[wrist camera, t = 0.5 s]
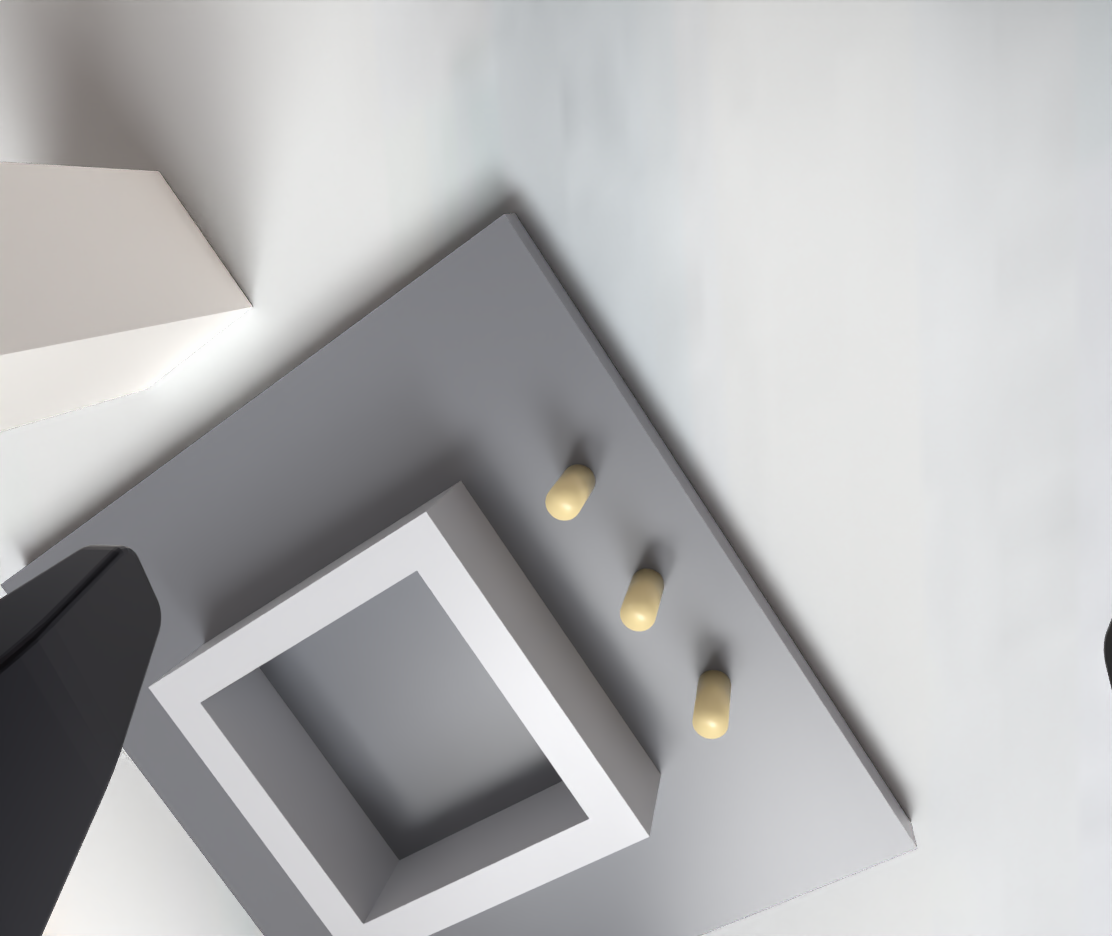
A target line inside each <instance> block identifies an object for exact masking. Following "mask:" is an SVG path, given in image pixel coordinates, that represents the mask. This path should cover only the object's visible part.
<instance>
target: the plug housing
mask: <svg viewBox="0 0 1112 936" xmlns="http://www.w3.org/2000/svg"><path fill="white" fill-rule="evenodd" d="M252 307H253V306H252V305H251V303H250V302H249V301H248V299H247V298H246V296H245V295H244V293H243V292H242V290H241V289H240V288H239V286H238V285H237V283H236V282H235V280H234V279H233V277H232V276H231V275H230V273H229V272H228V270H227V269H226V267H225V266H224V264H223V263H222V262H221V260H220V259H219V257H218V256H217V254H216V253H215V251H214V250H213V249H212V247H211V246H210V244H209V243H208V241H207V240H206V238H205V237H204V236H203V234H202V233H201V231H200V230H199V228H198V227H197V225H196V224H195V223H194V221H193V220H192V218H191V217H190V215H189V214H188V212H187V211H186V209H185V208H184V207H183V205H182V204H181V202H180V201H179V199H178V198H177V196H176V195H175V194H174V192H173V191H172V189H171V188H170V186H169V185H168V183H167V182H166V181H165V179H164V178H163V176H162V175H161V173H160V172H159V171H146V170H130V169H113V168H97V167H80V166H64V165H47V164H31V163H14V162H0V432H3V431H6V430H10V429H13V428H17V427H20V426H23V425H27V424H30V423H34V422H37V421H41V420H44V419H47V418H51V417H54V416H58V415H61V414H64V413H68V412H71V411H75V410H78V409H82V408H85V407H88V406H92V405H95V404H99V403H102V402H105V401H109V400H112V399H116V398H119V397H123V396H126V395H129V394H133V393H136V392H140V391H143V390H146V389H148V388H149V387H151V386H152V385H153V384H154V383H156V382H157V381H158V380H160V379H161V378H162V377H163V376H165V375H166V374H167V373H168V372H170V371H171V370H172V369H174V368H175V367H176V366H177V365H179V364H180V363H181V362H183V361H184V360H185V359H186V358H188V357H189V356H190V355H192V354H193V353H194V352H195V351H197V350H198V349H199V348H201V347H202V346H203V345H204V344H206V343H207V342H208V341H210V340H211V339H212V338H213V337H215V336H216V335H217V334H218V333H220V332H221V331H222V330H224V329H225V328H226V327H227V326H229V325H230V324H231V323H233V322H234V321H235V320H236V319H238V318H239V317H240V316H242V315H243V314H244V313H245V312H247V311H248V310H249V309H251V308H252Z"/></svg>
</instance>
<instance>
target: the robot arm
mask: <svg viewBox="0 0 1112 936" xmlns="http://www.w3.org/2000/svg"><path fill="white" fill-rule="evenodd" d="M160 626H161V609H160V605H159V602H158V599H157V597H156V595H155V593H154V591H153V588H152V586H151V584H150V582H149V579H148V577H147V575H146V573H145V571H144V568H143V566H142V564H141V562H140V560H139V557H138V556H137V554H136V553H135V552H134V551H133V550H132V549H131V548H130V547H127V546H124V545H89V546H85V547H83V548H81V549H79V550H77V551H76V552H74V553H73V554H71V555H70V556H68V557H66V558H65V559H63V560H62V561H60V562H58V563H57V564H55V565H54V566H52V567H50V568H49V569H47V570H46V571H44V572H42V573H41V574H39V575H38V576H36V577H34V578H33V579H31V580H30V581H28V582H26V583H25V584H23V585H22V586H20V587H19V588H17V589H15V590H14V591H12V592H11V593H9V594H7V595H6V596H4V597H3V598H1V599H0V936H42V934H43V931H44V929H45V927H46V925H47V922H48V920H49V918H50V916H51V913H52V911H53V909H54V907H55V904H56V902H57V900H58V898H59V895H60V893H61V891H62V889H63V886H64V884H65V882H66V879H67V877H68V875H69V873H70V870H71V868H72V866H73V864H74V861H75V859H76V857H77V855H78V852H79V850H80V848H81V846H82V843H83V841H84V839H85V836H86V834H87V832H88V830H89V827H90V825H91V823H92V821H93V818H94V816H95V814H96V812H97V809H98V807H99V805H100V803H101V800H102V798H103V796H104V793H105V791H106V789H107V786H108V784H109V781H110V779H111V776H112V774H113V772H114V769H115V766H116V763H117V761H118V758H119V755H120V752H121V749H122V747H123V744H124V740H125V737H126V734H127V731H128V728H129V725H130V722H131V719H132V715H133V712H134V709H135V706H136V703H137V700H138V697H139V694H140V691H141V687H142V684H143V681H144V678H145V675H146V672H147V669H148V666H149V662H150V659H151V656H152V653H153V650H154V647H155V644H156V641H157V638H158V634H159V631H160ZM1104 658H1105V664H1106V668H1107V672H1108V676H1109V680H1110V684H1111V688H1112V619H1111V622H1110V624H1109V627H1108V629H1107V632H1106V635H1105V640H1104Z"/></svg>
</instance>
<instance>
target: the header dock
mask: <svg viewBox="0 0 1112 936" xmlns="http://www.w3.org/2000/svg"><path fill="white" fill-rule="evenodd" d="M89 545H124V546H127V547H130V548H131V549H132V550H133V551H134V552H135V553H136V554H137V556H138V557H139V560H140V562H141V564H142V566H143V568H144V571H145V573H146V575H147V577H148V579H149V582H150V584H151V586H152V588H153V591H154V593H155V595H156V597H157V599H158V602H159V605H160V609H161V626H160V631H159V634H158V638H157V641H156V644H155V647H154V650H153V653H152V656H151V659H150V662H149V666H148V669H147V672H146V675H145V678H144V681H143V684H142V687H141V691H140V694H139V697H138V700H137V703H136V706H135V709H134V712H133V715H132V719H131V722H130V725H129V728H128V731H127V734H126V737H125V740H124V744H123V748H124V750H125V751H126V752H127V754H128V755H129V756H130V758H131V759H132V760H133V762H134V763H135V764H136V766H137V767H138V768H139V770H140V771H141V772H142V774H143V775H144V776H145V778H146V779H147V780H148V782H149V783H150V784H151V786H152V787H153V788H154V790H155V791H156V792H157V794H158V795H159V796H160V798H161V799H162V800H163V802H164V803H165V804H166V806H167V807H168V808H169V810H170V811H171V812H172V814H173V815H174V816H175V818H176V819H177V820H178V822H179V823H180V824H181V826H182V827H183V828H184V830H185V831H186V832H187V834H188V835H189V836H190V838H191V839H192V840H193V842H194V843H195V844H196V846H197V847H198V848H199V850H200V851H201V852H202V853H203V855H204V856H205V857H206V859H207V860H208V861H209V863H210V864H211V865H212V867H213V868H214V869H215V871H216V872H217V873H218V875H219V876H220V877H221V879H222V880H223V881H224V883H225V884H226V885H227V887H228V888H229V889H230V891H231V892H232V893H233V895H234V896H235V897H236V899H237V900H238V901H239V903H240V904H241V905H242V907H243V908H244V909H245V911H246V912H247V913H248V915H249V916H250V917H251V919H252V920H253V921H254V923H255V924H256V925H257V927H258V928H259V929H260V931H261V932H262V933H263V935H264V936H701V935H703V934H706V933H708V932H711V931H713V930H716V929H718V928H721V927H723V926H726V925H728V924H731V923H733V922H736V921H738V920H741V919H743V918H746V917H748V916H751V915H753V914H756V913H758V912H761V911H763V910H766V909H768V908H771V907H773V906H776V905H778V904H781V903H783V902H786V901H788V900H791V899H793V898H796V897H798V896H801V895H803V894H806V893H808V892H811V891H813V890H816V889H818V888H821V887H823V886H826V885H828V884H831V883H833V882H836V881H838V880H841V879H843V878H846V877H848V876H851V875H853V874H856V873H858V872H860V871H863V870H865V869H868V868H870V867H873V866H875V865H878V864H880V863H883V862H885V861H888V860H890V859H893V858H895V857H898V856H900V855H903V854H905V853H908V852H910V851H913V850H915V849H917V845H916V840H915V836H914V832H913V827H912V823H911V822H910V820H909V819H908V817H907V816H906V814H905V813H904V811H903V810H902V808H901V806H900V805H899V803H898V802H897V800H896V799H895V797H894V796H893V794H892V793H891V791H890V790H889V788H888V786H887V785H886V783H885V782H884V780H883V779H882V777H881V776H880V774H879V773H878V771H877V770H876V768H875V766H874V765H873V763H872V762H871V760H870V759H869V757H868V756H867V754H866V753H865V751H864V750H863V748H862V746H861V745H860V743H859V742H858V740H857V739H856V737H855V736H854V734H853V733H852V731H851V730H850V728H849V726H848V725H847V723H846V722H845V720H844V719H843V717H842V716H841V714H840V713H839V711H838V710H837V708H836V706H835V705H834V703H833V702H832V700H831V699H830V697H829V696H828V694H827V693H826V691H825V690H824V688H823V686H822V685H821V683H820V682H819V680H818V679H817V677H816V676H815V674H814V673H813V671H812V670H811V668H810V666H809V665H808V663H807V662H806V660H805V659H804V657H803V656H802V654H801V653H800V651H799V650H798V648H797V646H796V645H795V643H794V642H793V640H792V639H791V637H790V636H789V634H788V633H787V631H786V629H785V628H784V626H783V625H782V623H781V622H780V620H779V619H778V617H777V616H776V614H775V613H774V611H773V609H772V608H771V606H770V605H769V603H768V602H767V600H766V599H765V597H764V596H763V594H762V593H761V591H760V589H759V588H758V586H757V585H756V583H755V582H754V580H753V579H752V577H751V576H750V574H749V573H748V571H747V569H746V568H745V566H744V565H743V563H742V562H741V560H740V559H739V557H738V556H737V554H736V553H735V551H734V549H733V548H732V546H731V545H730V543H729V542H728V540H727V539H726V537H725V536H724V534H723V533H722V531H721V529H720V528H719V526H718V525H717V523H716V522H715V520H714V519H713V517H712V516H711V514H710V513H709V511H708V509H707V508H706V506H705V505H704V503H703V502H702V500H701V499H700V497H699V496H698V494H697V493H696V491H695V489H694V488H693V486H692V485H691V483H690V482H689V480H688V479H687V477H686V476H685V474H684V473H683V471H682V469H681V468H680V466H679V465H678V463H677V462H676V460H675V459H674V457H673V456H672V454H671V453H670V451H669V449H668V448H667V446H666V445H665V443H664V442H663V440H662V439H661V437H660V436H659V434H658V433H657V431H656V429H655V428H654V426H653V425H652V423H651V422H650V420H649V419H648V417H647V416H646V414H645V413H644V411H643V409H642V408H641V406H640V405H639V403H638V402H637V400H636V399H635V397H634V396H633V394H632V393H631V391H630V389H629V388H628V386H627V385H626V383H625V382H624V380H623V379H622V377H621V376H620V374H619V373H618V371H617V369H616V368H615V366H614V365H613V363H612V362H611V360H610V359H609V357H608V356H607V354H606V353H605V351H604V349H603V348H602V346H601V345H600V343H599V342H598V340H597V339H596V337H595V336H594V334H593V333H592V331H591V329H590V328H589V326H588V325H587V323H586V322H585V320H584V319H583V317H582V316H581V314H580V313H579V311H578V309H577V308H576V306H575V305H574V303H573V302H572V300H571V299H570V297H569V296H568V294H567V293H566V291H565V289H564V288H563V286H562V285H561V283H560V282H559V280H558V279H557V277H556V276H555V274H554V273H553V271H552V269H551V268H550V266H549V265H548V263H547V262H546V260H545V259H544V257H543V256H542V254H541V252H540V251H539V249H538V248H537V246H536V245H535V243H534V242H533V240H532V239H531V237H530V236H529V234H528V232H527V231H526V229H525V228H524V226H523V225H522V223H521V222H520V220H519V219H518V217H517V216H516V214H503V215H502V216H500V217H499V218H498V219H496V220H495V221H494V222H492V223H491V224H490V225H488V226H487V227H485V228H484V229H483V230H481V231H480V232H479V233H477V234H476V235H475V236H473V237H472V238H471V239H469V240H468V241H466V242H465V243H464V244H462V245H461V246H460V247H458V248H457V249H456V250H454V251H453V252H452V253H450V254H449V255H447V256H446V257H445V258H443V259H442V260H441V261H439V262H438V263H437V264H435V265H434V266H433V267H431V268H430V269H428V270H427V271H426V272H424V273H423V274H422V275H420V276H419V277H418V278H416V279H415V280H414V281H412V282H411V283H410V284H408V285H407V286H405V287H404V288H403V289H401V290H400V291H399V292H397V293H396V294H395V295H393V296H392V297H391V298H389V299H388V300H386V301H385V302H384V303H382V304H381V305H380V306H378V307H377V308H376V309H374V310H373V311H372V312H370V313H369V314H367V315H366V316H365V317H363V318H362V319H361V320H359V321H358V322H357V323H355V324H354V325H353V326H351V327H350V328H348V329H347V330H346V331H344V332H343V333H342V334H340V335H339V336H338V337H336V338H335V339H334V340H332V341H331V342H329V343H328V344H327V345H325V346H324V347H323V348H321V349H320V350H319V351H317V352H316V353H315V354H313V355H312V356H310V357H309V358H308V359H306V360H305V361H304V362H302V363H301V364H300V365H298V366H297V367H296V368H294V369H293V370H291V371H290V372H289V373H287V374H286V375H285V376H283V377H282V378H281V379H279V380H278V381H277V382H275V383H274V384H272V385H271V386H270V387H268V388H267V389H266V390H264V391H263V392H262V393H260V394H259V395H258V396H256V397H255V398H254V399H252V400H251V401H249V402H248V403H247V404H245V405H244V406H243V407H241V408H240V409H239V410H237V411H236V412H235V413H233V414H232V415H230V416H229V417H228V418H226V419H225V420H224V421H222V422H221V423H220V424H218V425H217V426H216V427H214V428H213V429H211V430H210V431H209V432H207V433H206V434H205V435H203V436H202V437H201V438H199V439H198V440H197V441H195V442H194V443H192V444H191V445H190V446H188V447H187V448H186V449H184V450H183V451H182V452H180V453H179V454H178V455H176V456H175V457H173V458H172V459H171V460H169V461H168V462H167V463H165V464H164V465H163V466H161V467H160V468H159V469H157V470H156V471H154V472H153V473H152V474H150V475H149V476H148V477H146V478H145V479H144V480H142V481H141V482H140V483H138V484H137V485H135V486H134V487H133V488H131V489H130V490H129V491H127V492H126V493H125V494H123V495H122V496H121V497H119V498H118V499H116V500H115V501H114V502H112V503H111V504H110V505H108V506H107V507H106V508H104V509H103V510H102V511H100V512H99V513H97V514H96V515H95V516H93V517H92V518H91V519H89V520H88V521H87V522H85V523H84V524H83V525H81V526H80V527H79V528H77V529H76V530H74V531H73V532H72V533H70V534H69V535H68V536H66V537H65V538H64V539H62V540H61V541H60V542H58V543H57V544H55V545H54V546H53V547H51V548H50V549H49V550H47V551H46V552H45V553H43V554H42V555H41V556H39V557H38V558H36V559H35V560H34V561H32V562H31V563H30V564H28V565H27V566H26V567H24V568H23V569H22V570H20V571H19V572H17V573H16V574H15V575H13V576H12V577H11V578H9V579H8V580H7V581H5V582H4V583H3V584H1V586H2V588H3V589H4V590H5V592H6V593H7V594H9V593H11V592H12V591H14V590H15V589H17V588H19V587H20V586H22V585H23V584H25V583H26V582H28V581H30V580H31V579H33V578H34V577H36V576H38V575H39V574H41V573H42V572H44V571H46V570H47V569H49V568H50V567H52V566H54V565H55V564H57V563H58V562H60V561H62V560H63V559H65V558H66V557H68V556H70V555H71V554H73V553H74V552H76V551H77V550H79V549H81V548H83V547H85V546H89Z"/></svg>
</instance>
